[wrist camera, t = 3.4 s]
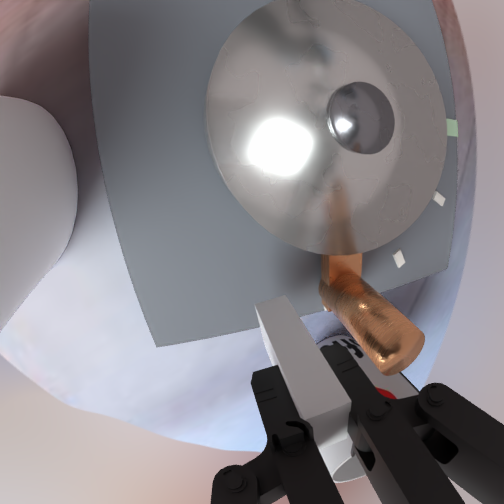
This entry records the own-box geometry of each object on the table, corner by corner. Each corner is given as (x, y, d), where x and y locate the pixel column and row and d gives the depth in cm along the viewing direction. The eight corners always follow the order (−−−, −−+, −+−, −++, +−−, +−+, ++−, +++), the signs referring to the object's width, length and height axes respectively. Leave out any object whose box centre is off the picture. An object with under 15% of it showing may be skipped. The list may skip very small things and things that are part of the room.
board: (100, -10, 8) (90, -26, 6) (414, 1, 12) (431, -5, 10) (158, 327, 17) (156, 349, 15) (431, 259, 20) (448, 269, 18)
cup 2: (382, 315, 21) (457, 393, 12) (353, 383, 24) (403, 458, 15) (293, 323, 19) (359, 437, 10) (275, 396, 22) (313, 493, 13)
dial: (190, 15, 9) (196, -71, 3) (402, 32, 11) (484, 11, 5) (237, 326, 15) (267, 420, 9) (410, 277, 17) (475, 328, 11)
